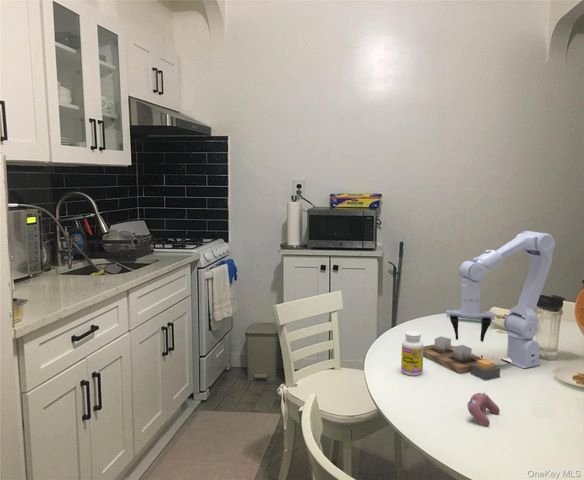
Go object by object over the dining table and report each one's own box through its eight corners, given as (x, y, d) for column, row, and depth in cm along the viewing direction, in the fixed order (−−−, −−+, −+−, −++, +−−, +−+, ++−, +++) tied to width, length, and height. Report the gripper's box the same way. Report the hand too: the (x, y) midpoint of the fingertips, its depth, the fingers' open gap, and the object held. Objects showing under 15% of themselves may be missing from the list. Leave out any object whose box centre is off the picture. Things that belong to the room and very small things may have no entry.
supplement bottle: (398, 374, 161) (399, 334, 159) (404, 367, 167) (405, 329, 165) (419, 377, 158) (420, 337, 156) (424, 370, 164) (425, 331, 162)
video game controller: (485, 415, 136) (474, 390, 137) (501, 412, 133) (490, 386, 134) (473, 429, 128) (461, 402, 129) (489, 426, 125) (478, 399, 127)
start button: (494, 371, 158) (494, 362, 158) (485, 373, 157) (485, 364, 156) (485, 367, 161) (485, 358, 161) (476, 369, 160) (477, 360, 160)
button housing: (499, 377, 158) (500, 367, 157) (485, 380, 155) (485, 370, 155) (485, 370, 163) (485, 361, 163) (470, 373, 161) (471, 364, 160)
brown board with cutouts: (490, 367, 166) (490, 361, 165) (459, 374, 160) (460, 368, 160) (444, 347, 185) (444, 342, 185) (416, 353, 180) (416, 347, 180)
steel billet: (450, 355, 177) (450, 338, 177) (444, 358, 175) (445, 341, 174) (440, 352, 180) (440, 336, 180) (434, 355, 177) (434, 338, 177)
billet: (471, 366, 167) (471, 348, 167) (461, 367, 166) (462, 350, 165) (462, 362, 171) (462, 344, 170) (453, 363, 169) (453, 346, 169)
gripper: (493, 297, 165) (491, 337, 167) (446, 294, 169) (445, 334, 170) (496, 302, 158) (494, 344, 160) (447, 299, 162) (446, 340, 164)
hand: (469, 339), depth 165 cm, fingers open, 7 cm apart
